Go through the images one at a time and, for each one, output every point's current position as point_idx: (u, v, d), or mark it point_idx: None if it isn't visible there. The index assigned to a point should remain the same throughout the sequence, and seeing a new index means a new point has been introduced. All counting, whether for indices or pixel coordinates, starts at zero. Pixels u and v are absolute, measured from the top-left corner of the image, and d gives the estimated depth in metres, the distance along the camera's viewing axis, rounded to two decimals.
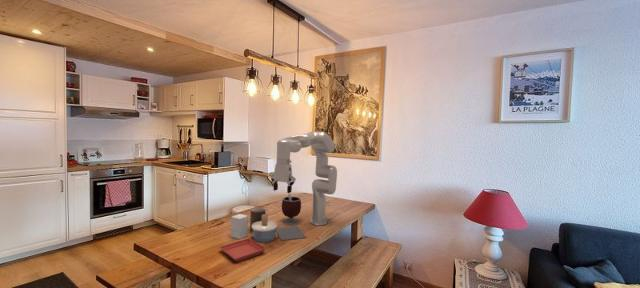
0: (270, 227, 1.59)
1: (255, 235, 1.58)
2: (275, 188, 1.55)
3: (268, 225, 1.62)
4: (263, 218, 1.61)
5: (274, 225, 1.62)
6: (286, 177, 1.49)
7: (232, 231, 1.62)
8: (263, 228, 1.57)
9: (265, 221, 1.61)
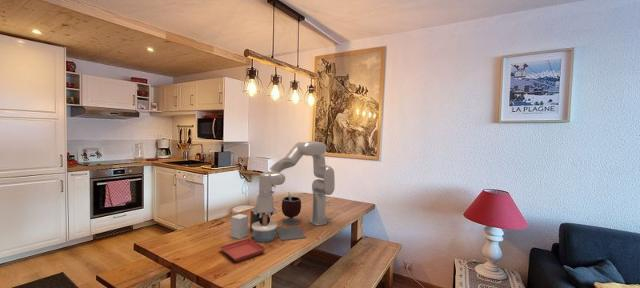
0: (270, 227, 1.59)
1: (255, 235, 1.58)
2: (261, 222, 1.61)
3: (268, 225, 1.62)
4: (263, 218, 1.61)
5: (274, 225, 1.62)
6: (272, 207, 1.62)
7: (232, 231, 1.62)
8: (263, 228, 1.57)
9: (265, 221, 1.61)
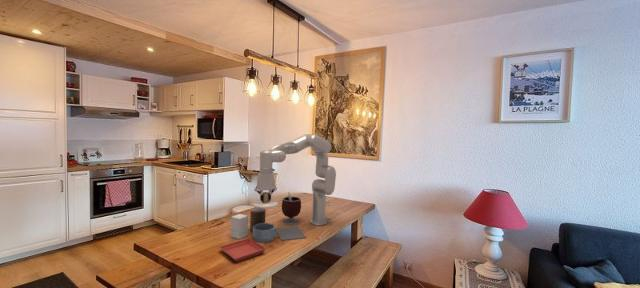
0: (271, 204, 1.58)
1: (255, 235, 1.58)
2: (262, 199, 1.61)
3: (269, 203, 1.62)
4: (264, 195, 1.60)
5: (275, 203, 1.62)
6: (273, 185, 1.61)
7: (232, 231, 1.62)
8: (264, 205, 1.56)
9: (266, 198, 1.61)
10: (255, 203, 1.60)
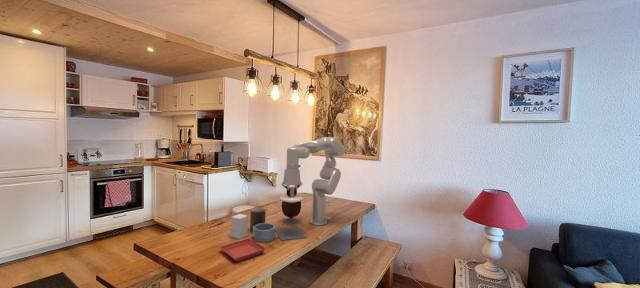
0: (297, 198, 1.66)
1: (255, 235, 1.58)
2: None
3: (295, 197, 1.69)
4: (290, 190, 1.68)
5: (301, 197, 1.70)
6: (299, 180, 1.69)
7: (232, 231, 1.62)
8: (291, 199, 1.64)
9: (292, 193, 1.68)
10: (282, 197, 1.67)
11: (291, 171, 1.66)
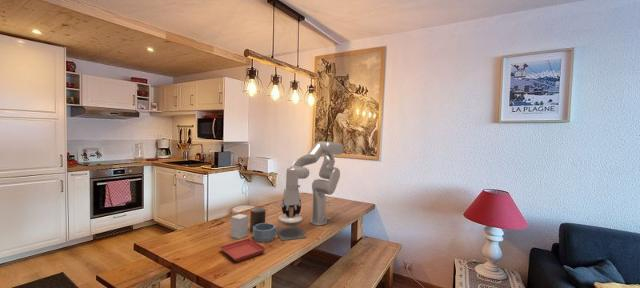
0: (296, 219, 1.67)
1: (255, 235, 1.58)
2: None
3: (294, 217, 1.70)
4: (290, 210, 1.69)
5: (300, 217, 1.70)
6: (298, 200, 1.70)
7: (232, 231, 1.62)
8: (290, 220, 1.65)
9: (291, 213, 1.69)
10: (281, 217, 1.68)
11: (290, 191, 1.67)
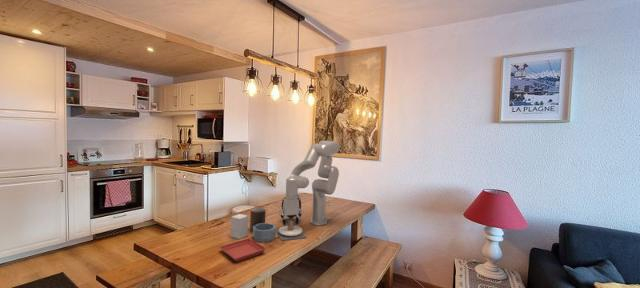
0: (296, 232, 1.67)
1: (255, 235, 1.58)
2: None
3: (294, 230, 1.70)
4: (290, 223, 1.69)
5: (300, 230, 1.71)
6: (298, 210, 1.70)
7: (232, 231, 1.62)
8: (290, 233, 1.65)
9: (291, 226, 1.69)
10: (281, 230, 1.69)
11: (290, 202, 1.67)
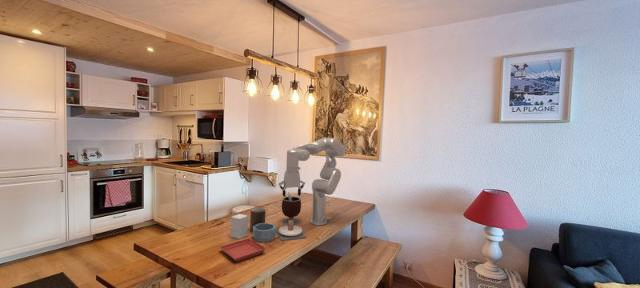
0: (296, 232, 1.67)
1: (255, 235, 1.58)
2: None
3: (294, 230, 1.70)
4: (289, 223, 1.69)
5: (300, 230, 1.71)
6: (299, 182, 1.70)
7: (232, 231, 1.62)
8: (290, 233, 1.65)
9: (291, 226, 1.69)
10: (281, 230, 1.69)
11: (291, 173, 1.67)
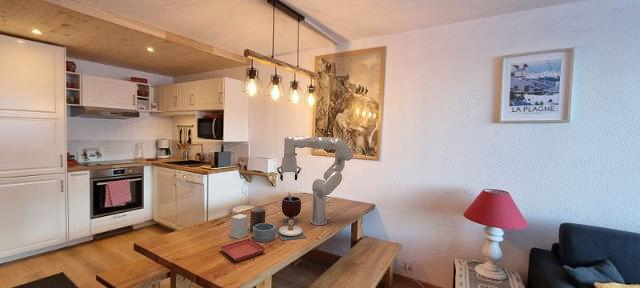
0: (296, 232, 1.67)
1: (255, 235, 1.58)
2: None
3: (294, 230, 1.70)
4: (290, 223, 1.69)
5: (300, 230, 1.71)
6: (295, 167, 1.80)
7: (232, 231, 1.62)
8: (290, 233, 1.65)
9: (291, 226, 1.69)
10: (281, 230, 1.69)
11: (288, 159, 1.78)
